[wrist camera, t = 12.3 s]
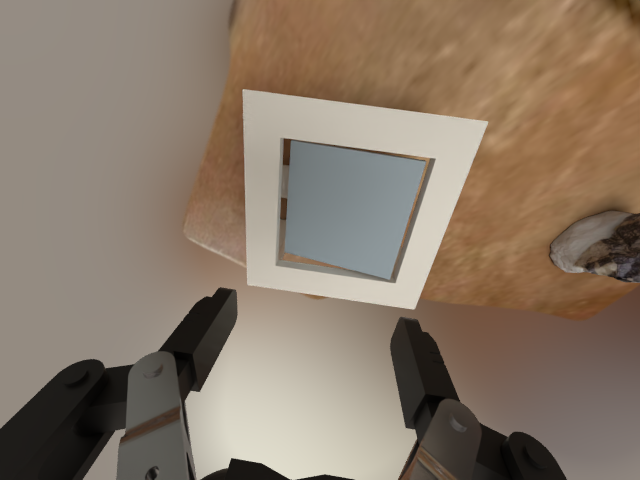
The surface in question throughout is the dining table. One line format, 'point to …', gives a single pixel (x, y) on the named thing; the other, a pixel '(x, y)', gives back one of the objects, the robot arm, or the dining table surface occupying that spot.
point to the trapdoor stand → (358, 132)
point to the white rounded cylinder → (285, 181)
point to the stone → (601, 246)
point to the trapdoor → (349, 205)
